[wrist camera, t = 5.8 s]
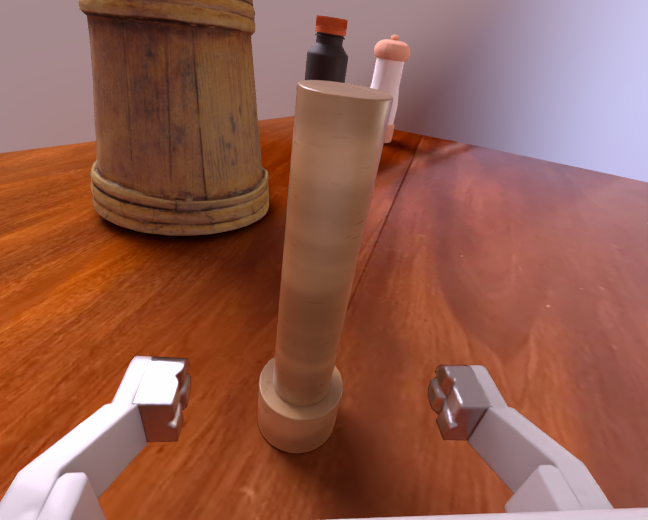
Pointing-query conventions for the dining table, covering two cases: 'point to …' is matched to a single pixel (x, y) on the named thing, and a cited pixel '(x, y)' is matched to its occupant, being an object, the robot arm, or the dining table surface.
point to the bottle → (327, 51)
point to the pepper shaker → (390, 73)
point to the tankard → (175, 115)
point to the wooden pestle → (320, 256)
